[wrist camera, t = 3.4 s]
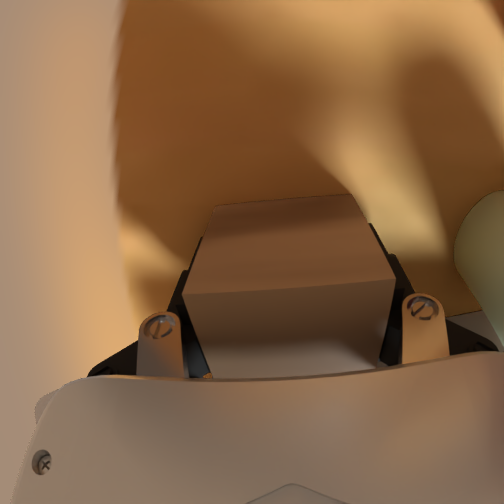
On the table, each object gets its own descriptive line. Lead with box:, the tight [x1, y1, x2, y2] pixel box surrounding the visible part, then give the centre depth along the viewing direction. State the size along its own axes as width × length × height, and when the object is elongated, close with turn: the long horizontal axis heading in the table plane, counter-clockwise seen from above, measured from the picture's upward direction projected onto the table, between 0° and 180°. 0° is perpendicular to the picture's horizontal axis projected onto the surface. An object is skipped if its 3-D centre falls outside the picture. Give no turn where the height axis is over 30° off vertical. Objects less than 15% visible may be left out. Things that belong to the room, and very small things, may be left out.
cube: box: [182, 194, 396, 378], centre depth 10 cm, size 5×5×5 cm
